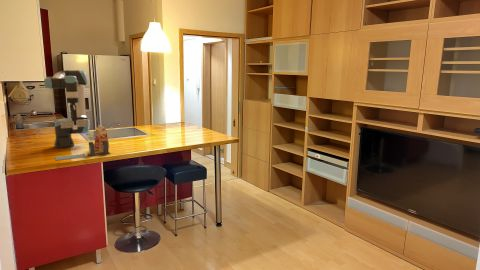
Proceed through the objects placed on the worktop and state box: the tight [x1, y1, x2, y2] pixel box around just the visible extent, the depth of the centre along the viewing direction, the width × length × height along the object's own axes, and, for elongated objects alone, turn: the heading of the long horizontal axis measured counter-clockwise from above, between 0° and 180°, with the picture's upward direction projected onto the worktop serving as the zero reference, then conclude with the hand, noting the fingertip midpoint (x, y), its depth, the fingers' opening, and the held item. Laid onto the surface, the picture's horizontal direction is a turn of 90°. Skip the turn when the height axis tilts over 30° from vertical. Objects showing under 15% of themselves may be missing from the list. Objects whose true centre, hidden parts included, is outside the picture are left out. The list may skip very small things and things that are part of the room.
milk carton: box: [94, 124, 110, 151], centre depth 275 cm, size 9×9×20 cm
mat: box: [55, 153, 87, 161], centre depth 251 cm, size 9×20×1 cm, turn 122°
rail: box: [60, 118, 89, 128], centre depth 248 cm, size 4×18×5 cm, turn 124°
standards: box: [87, 141, 111, 157], centre depth 260 cm, size 7×15×10 cm, turn 122°
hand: (74, 128), depth 249 cm, fingers closed on rail, 3 cm apart
